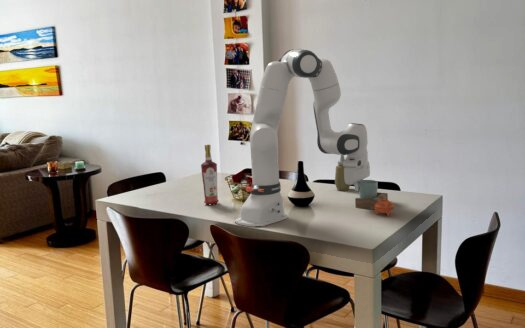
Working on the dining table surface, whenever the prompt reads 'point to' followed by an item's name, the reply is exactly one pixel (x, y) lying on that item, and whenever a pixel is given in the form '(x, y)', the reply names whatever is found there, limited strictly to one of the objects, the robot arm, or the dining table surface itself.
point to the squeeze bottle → (340, 176)
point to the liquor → (209, 178)
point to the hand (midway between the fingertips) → (358, 190)
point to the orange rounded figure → (383, 207)
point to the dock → (370, 201)
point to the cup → (368, 189)
